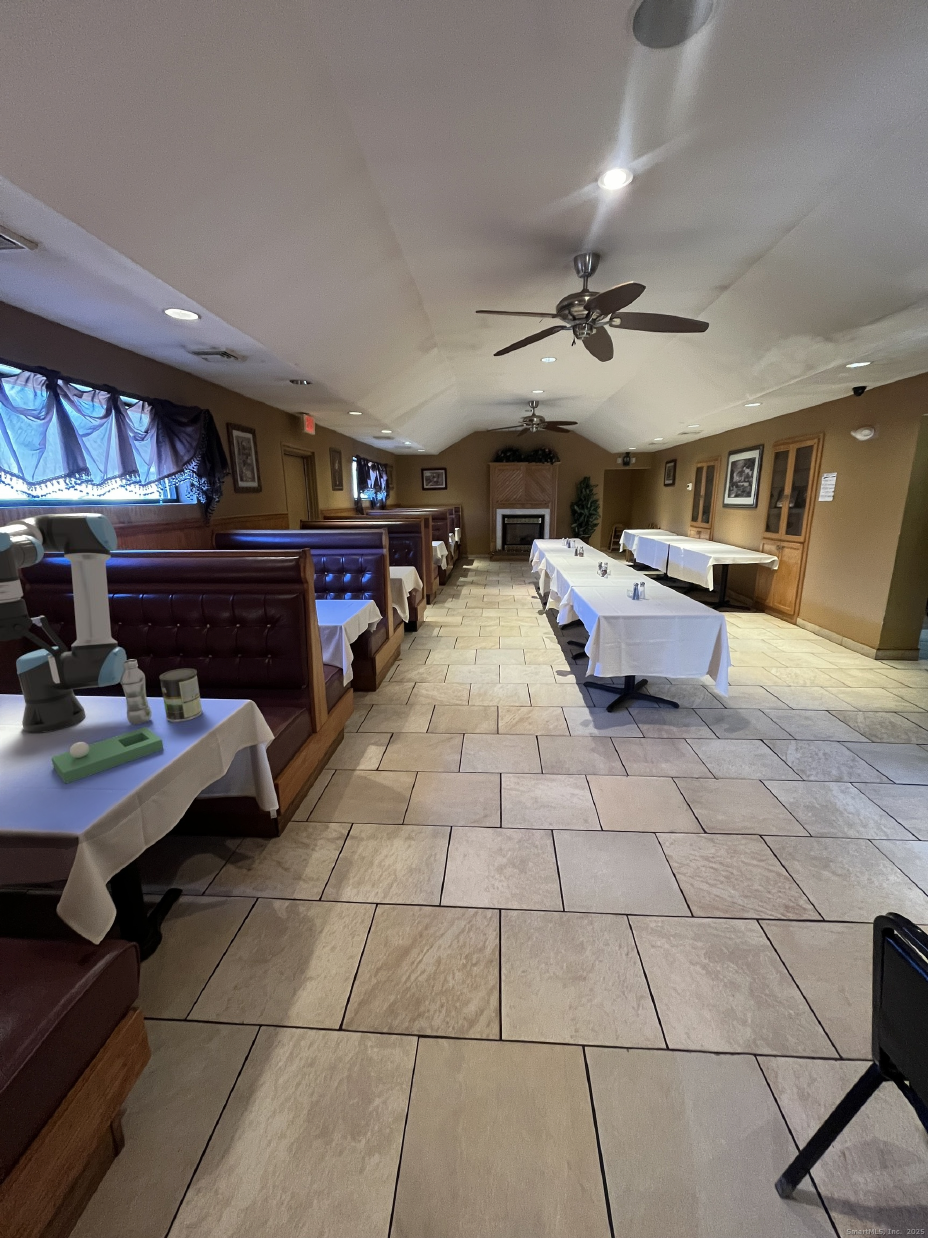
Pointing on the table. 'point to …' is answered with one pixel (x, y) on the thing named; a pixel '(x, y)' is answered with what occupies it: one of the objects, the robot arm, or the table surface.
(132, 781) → the table surface
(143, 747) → the green
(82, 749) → the ball
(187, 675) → the coffee can
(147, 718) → the plastic bottle
